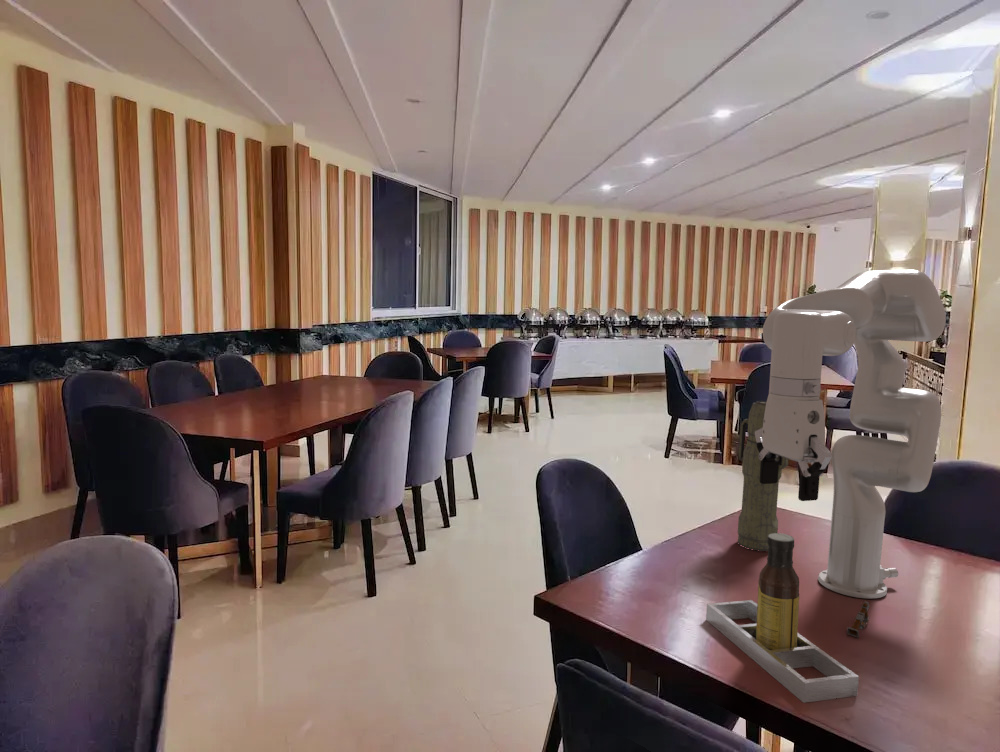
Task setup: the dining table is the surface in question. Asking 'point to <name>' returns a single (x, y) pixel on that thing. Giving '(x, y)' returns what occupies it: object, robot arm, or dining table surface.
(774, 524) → the thermos
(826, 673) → the rack with square compartments
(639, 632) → the dining table surface
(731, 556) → the dining table surface
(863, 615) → the wooden post with brackets
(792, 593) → the sauce bottle
